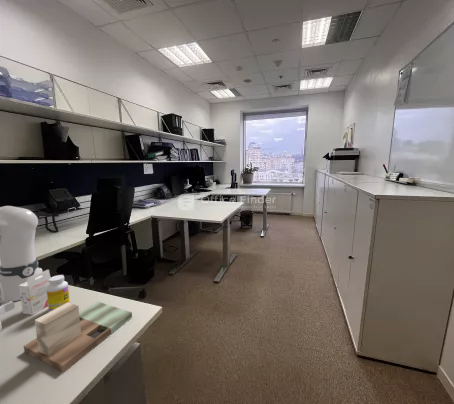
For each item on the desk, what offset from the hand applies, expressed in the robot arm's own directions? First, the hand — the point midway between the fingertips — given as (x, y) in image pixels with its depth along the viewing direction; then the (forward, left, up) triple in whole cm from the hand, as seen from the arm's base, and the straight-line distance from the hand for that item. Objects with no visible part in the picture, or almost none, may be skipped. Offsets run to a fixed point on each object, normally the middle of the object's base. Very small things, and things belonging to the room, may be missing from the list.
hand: (6, 301), depth 53 cm
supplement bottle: (-22, +23, -22) cm, 39 cm away
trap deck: (0, +18, -22) cm, 29 cm away
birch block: (0, +11, -20) cm, 23 cm away
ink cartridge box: (-30, +20, -22) cm, 42 cm away
